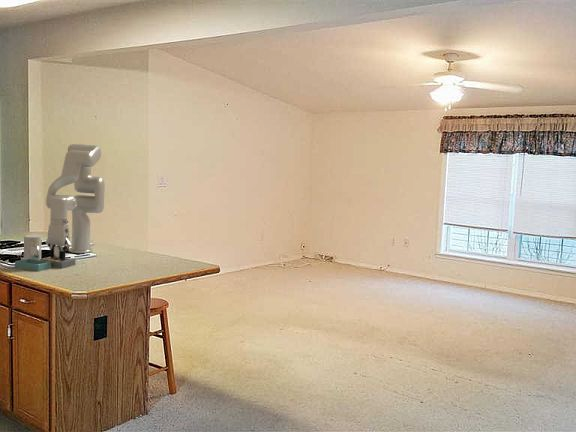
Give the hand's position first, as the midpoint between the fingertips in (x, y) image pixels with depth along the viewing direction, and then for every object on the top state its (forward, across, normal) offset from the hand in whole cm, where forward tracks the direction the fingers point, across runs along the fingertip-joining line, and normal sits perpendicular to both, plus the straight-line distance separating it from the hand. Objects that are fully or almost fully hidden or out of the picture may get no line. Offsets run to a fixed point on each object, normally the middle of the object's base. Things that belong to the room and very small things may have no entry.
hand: (57, 257), depth 275 cm
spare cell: (+4, +12, +2) cm, 13 cm away
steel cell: (+3, 0, 0) cm, 3 cm away
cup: (+4, +19, -4) cm, 20 cm away
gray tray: (+4, 0, 0) cm, 4 cm away
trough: (+4, +5, +11) cm, 13 cm away
